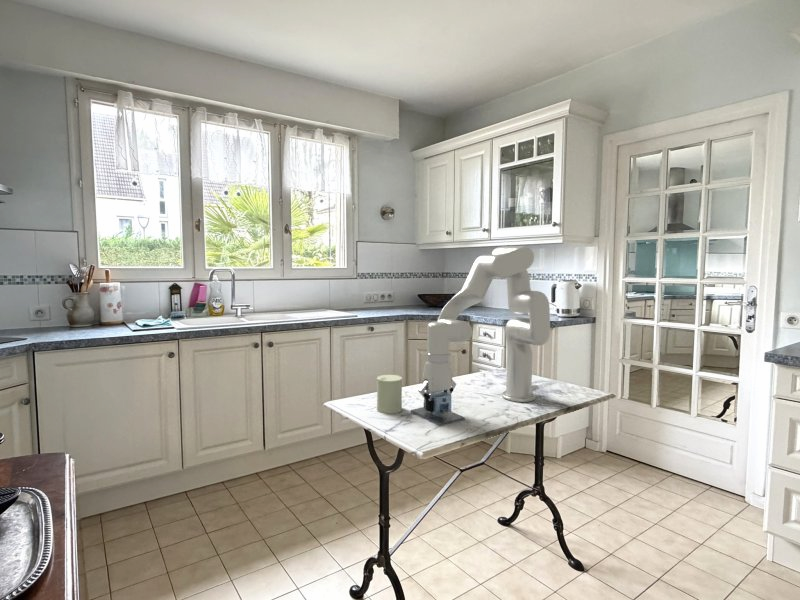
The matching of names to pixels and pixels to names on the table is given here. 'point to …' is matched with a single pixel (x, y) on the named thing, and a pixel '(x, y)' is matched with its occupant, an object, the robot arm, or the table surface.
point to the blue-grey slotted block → (440, 401)
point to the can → (389, 393)
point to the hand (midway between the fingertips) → (437, 408)
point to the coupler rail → (438, 416)
